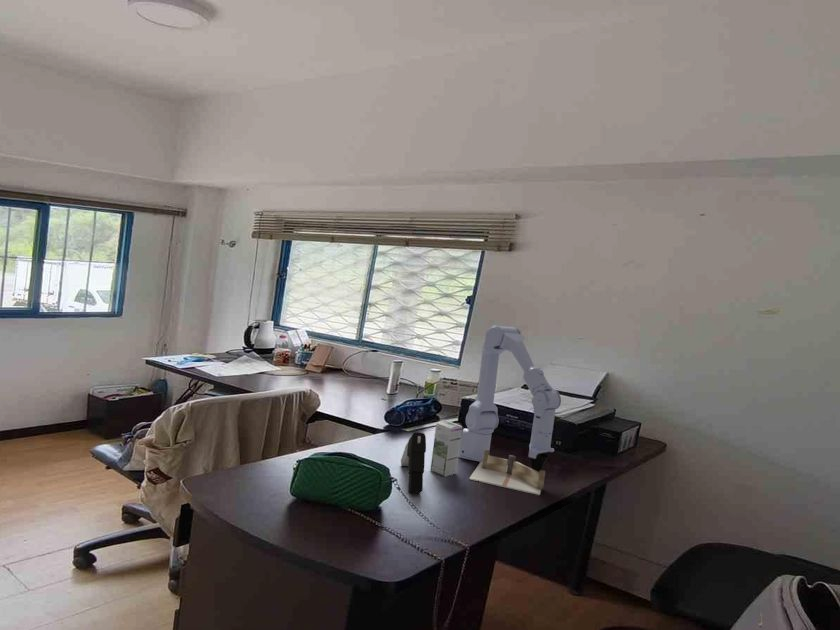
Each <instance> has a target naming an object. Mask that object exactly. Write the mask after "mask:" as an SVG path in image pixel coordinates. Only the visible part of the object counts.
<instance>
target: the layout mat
mask: <svg viewBox="0 0 840 630" xmlns="http://www.w3.org/2000/svg"><path fill="white" fill-rule="evenodd" d="M482 463H483V462H479V464H478V465H477V467H476V468H475V470H473V472H472V474H471V475H470V477H469V479H470V480H471V481H475V482H478V481H479V483H482V484H488V485H493V486H497V487H502V488H506V489H510V490H514V491H515V490H516V491H519V492H524V493H529V494H533V495H536V496H540V495H541V492H542V489H538V488H537V487H535V486H533V485H531V484H529V483H528V482H526V481H524V480H522V479H520V478H518V477H516V476H514V475H509V474H507V470H506V473H503V472H498V471H494V470H489V469H483V468H482ZM507 466H508V464H507Z"/></svg>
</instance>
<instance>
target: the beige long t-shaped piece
mask: <svg viewBox="0 0 840 630" xmlns="http://www.w3.org/2000/svg"><path fill="white" fill-rule="evenodd" d="M512 475H514V476H516V477H518V478H520V479H522V480H524V481H526V482H528V483H529V484H531V485H533V486H535V487H537V488H538V489H541V490H544V486H545V478H546V470H543V469H542V470H540V472H538V471H536V470H534V469H531V467H529V466H527V465H525V464H523V463H521V462H519V461H516V460H515V461H514V462H513V469H512Z"/></svg>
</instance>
